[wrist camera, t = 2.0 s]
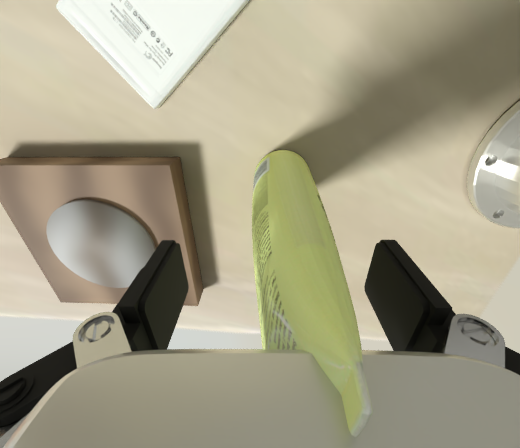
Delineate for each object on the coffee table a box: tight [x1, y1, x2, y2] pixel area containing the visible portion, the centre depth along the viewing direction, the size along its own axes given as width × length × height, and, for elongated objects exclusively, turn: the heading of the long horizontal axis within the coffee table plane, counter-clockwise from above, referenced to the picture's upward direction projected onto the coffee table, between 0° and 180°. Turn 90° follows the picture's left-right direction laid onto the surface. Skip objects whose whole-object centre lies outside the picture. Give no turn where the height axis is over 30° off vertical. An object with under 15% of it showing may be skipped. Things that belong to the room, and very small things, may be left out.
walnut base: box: [0, 157, 203, 306], centre depth 24 cm, size 16×16×3 cm
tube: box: [252, 150, 373, 437], centre depth 14 cm, size 6×5×20 cm
